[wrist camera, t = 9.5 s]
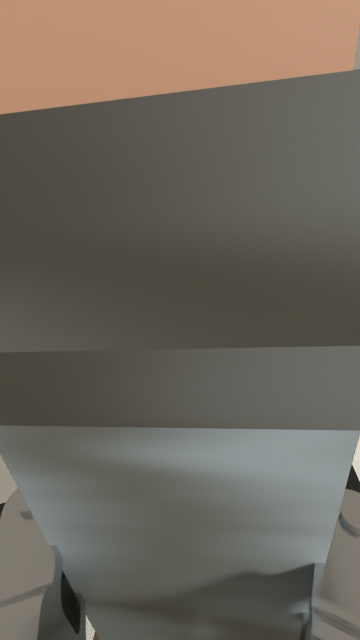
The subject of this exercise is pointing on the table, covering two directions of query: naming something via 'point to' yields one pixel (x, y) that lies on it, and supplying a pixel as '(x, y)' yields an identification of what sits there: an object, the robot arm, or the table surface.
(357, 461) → the table surface
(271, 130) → the grey pedestal column
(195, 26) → the cargo block
